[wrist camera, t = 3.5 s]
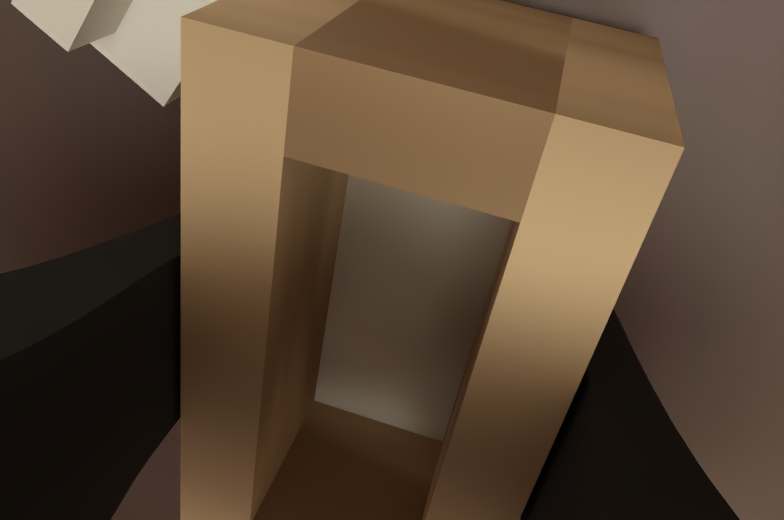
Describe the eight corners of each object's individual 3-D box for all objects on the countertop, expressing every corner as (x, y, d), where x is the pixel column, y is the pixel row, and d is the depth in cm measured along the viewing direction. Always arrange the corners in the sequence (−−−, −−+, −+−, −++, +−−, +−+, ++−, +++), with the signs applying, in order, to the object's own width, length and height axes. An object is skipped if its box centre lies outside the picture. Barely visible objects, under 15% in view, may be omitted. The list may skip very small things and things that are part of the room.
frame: (494, 463, 15) (462, 647, 11) (272, 391, 15) (180, 546, 12) (657, 38, 10) (684, 146, 6) (317, -44, 10) (181, 16, 7)
